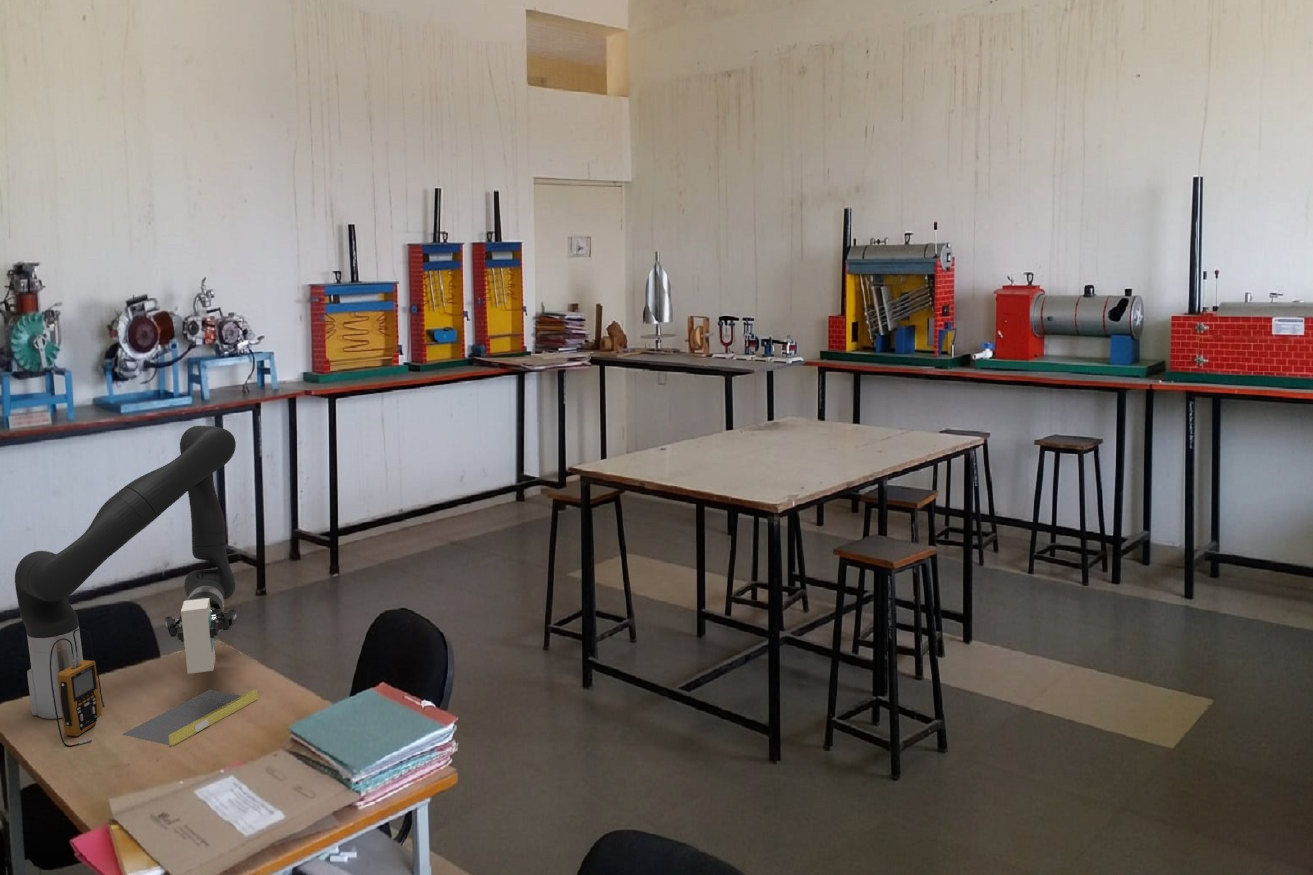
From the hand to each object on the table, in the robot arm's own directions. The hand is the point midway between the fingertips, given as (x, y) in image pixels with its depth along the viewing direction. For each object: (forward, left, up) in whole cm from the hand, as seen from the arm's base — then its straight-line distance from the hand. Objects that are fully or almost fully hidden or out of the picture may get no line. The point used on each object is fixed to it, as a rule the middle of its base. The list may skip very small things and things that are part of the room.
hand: (197, 635), depth 211 cm
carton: (-1, +2, -8) cm, 8 cm away
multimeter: (-19, -5, -18) cm, 27 cm away
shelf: (-2, -2, -18) cm, 18 cm away
